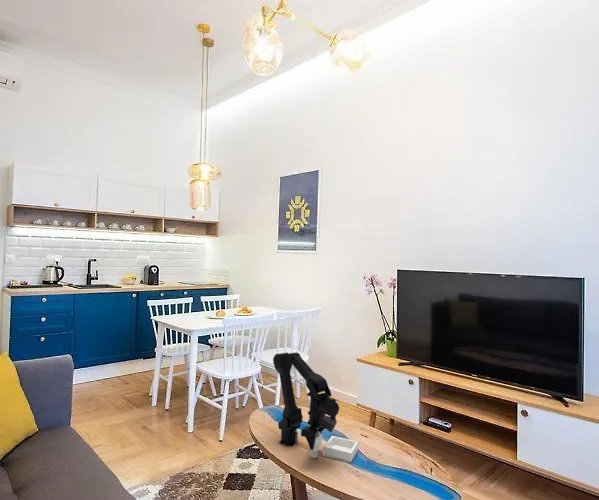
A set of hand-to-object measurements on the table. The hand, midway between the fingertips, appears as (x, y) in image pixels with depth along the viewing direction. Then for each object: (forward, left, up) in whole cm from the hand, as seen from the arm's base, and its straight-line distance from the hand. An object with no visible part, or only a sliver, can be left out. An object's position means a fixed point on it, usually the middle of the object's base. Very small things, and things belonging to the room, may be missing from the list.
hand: (314, 446), depth 173 cm
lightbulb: (0, 0, -5) cm, 5 cm away
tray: (+9, +9, -4) cm, 14 cm away
